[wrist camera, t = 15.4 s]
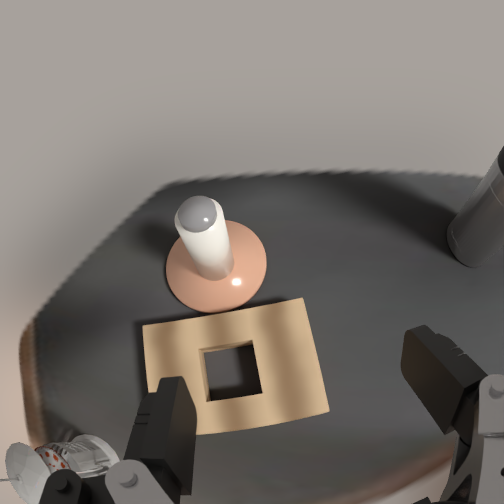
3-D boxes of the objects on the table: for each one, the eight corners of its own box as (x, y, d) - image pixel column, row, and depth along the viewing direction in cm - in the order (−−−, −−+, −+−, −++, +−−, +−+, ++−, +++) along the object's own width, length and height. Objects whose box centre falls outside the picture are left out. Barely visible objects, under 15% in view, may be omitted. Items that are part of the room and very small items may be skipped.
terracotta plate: (256, 215, 45) (255, 212, 44) (276, 302, 38) (276, 300, 37) (166, 232, 44) (164, 230, 44) (171, 321, 38) (169, 319, 37)
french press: (60, 434, 30) (-82, 419, 8) (123, 430, 31) (-33, 431, 9) (77, 494, 25) (-55, 517, 3) (144, 496, 26) (12, 558, 4)
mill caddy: (300, 305, 38) (302, 297, 35) (324, 410, 31) (329, 411, 29) (151, 331, 37) (142, 325, 35) (163, 434, 31) (155, 436, 28)
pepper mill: (231, 243, 42) (218, 187, 31) (237, 276, 39) (224, 226, 29) (195, 250, 42) (171, 197, 31) (198, 284, 39) (172, 237, 29)
